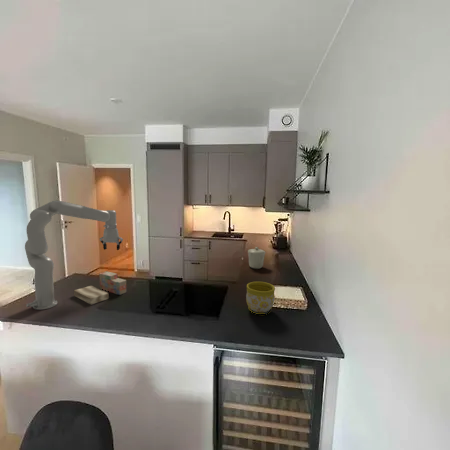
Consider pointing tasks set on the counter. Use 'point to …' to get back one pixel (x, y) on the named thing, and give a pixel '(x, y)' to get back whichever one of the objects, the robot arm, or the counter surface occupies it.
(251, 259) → the canister
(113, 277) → the stack of blocks
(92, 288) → the birch plinth
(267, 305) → the flowerpot
